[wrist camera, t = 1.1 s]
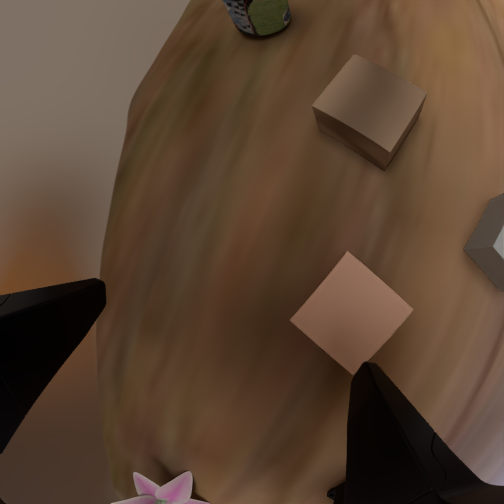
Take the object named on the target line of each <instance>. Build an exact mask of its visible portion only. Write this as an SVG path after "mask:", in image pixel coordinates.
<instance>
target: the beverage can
mask: <svg viewBox="0 0 504 504" xmlns="http://www.w3.org/2000/svg"><path fill="white" fill-rule="evenodd" d="M223 2H224V4H225V6H226V8H227V10H228V12H229V14H230V16H231V18H232V20H233V22H234V24H235V26H236V28H237V29H238V30H239V31H240V32H242V33H244V34H248V35H254V36H260V35H268V34H272V33H275V32H277V31H279V30H281V29H283V28H284V27H285V26H286V25H287V24H288V23H289V21H290V17H291V15H290V10H289V5H288V1H287V0H223Z"/></svg>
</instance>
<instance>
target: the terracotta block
mask: <svg viewBox="0 0 504 504" xmlns="http://www.w3.org/2000/svg"><path fill="white" fill-rule="evenodd" d="M413 310H414V309H413V308H411V307H410V306H409V305H408V304H407V303H406V302H405V301H404V300H403V299H402V298H401V297H400V296H398V295H397V294H396V293H395V292H394V291H393V290H392V289H391V288H390V287H389V286H387V285H386V284H385V283H384V282H383V281H382V280H381V279H380V278H378V277H377V276H376V275H375V274H374V273H373V272H372V271H370V270H369V269H368V268H367V267H366V266H365V265H363V264H362V263H361V262H360V261H359V260H358V259H356V258H355V257H354V256H353V255H352V254H350V253H349V252H348V251H347V252H346V254H345V255H344V256H343V258H342V259H341V260H340V261H339V263H338V264H337V265H336V266H335V267H334V269H333V270H332V271H331V272H330V274H329V275H328V276H327V277H326V278H325V280H324V281H323V282H322V283H321V285H320V286H319V287H318V288H317V289H316V290H315V292H314V293H313V294H312V295H311V296H310V297H309V299H308V300H307V301H306V302H305V303H304V304H303V306H302V307H301V308H300V309H299V310H298V311H297V312H296V314H295V315H294V316H293V317H292V318H291V319H290V321H291V322H292V323H293V324H294V325H296V326H297V327H298V328H299V329H300V330H301V331H302V332H303V333H305V334H306V335H307V336H308V337H309V338H310V339H311V340H313V341H314V342H315V343H316V344H317V345H318V346H319V347H321V348H322V349H323V350H324V351H325V352H326V353H328V354H329V355H330V356H331V357H332V358H333V359H334V360H336V361H337V362H338V363H339V364H340V365H341V366H343V367H344V368H345V369H346V370H347V371H348V372H350V373H351V374H352V375H354V374H355V373H356V372H357V371H358V369H359V368H360V366H361V364H362V363H363V362H365V361H368V360H369V359H370V358H371V357H372V356H373V355H374V354H375V353H376V352H377V351H378V350H379V349H380V348H381V347H382V345H383V344H384V343H385V342H386V341H387V340H388V339H389V338H390V337H391V336H392V335H393V333H394V332H395V331H396V330H397V329H398V328H399V327H400V325H401V324H402V323H403V322H404V321H405V320H406V318H407V317H408V316H409V315H410V314H411V312H412V311H413Z"/></svg>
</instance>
